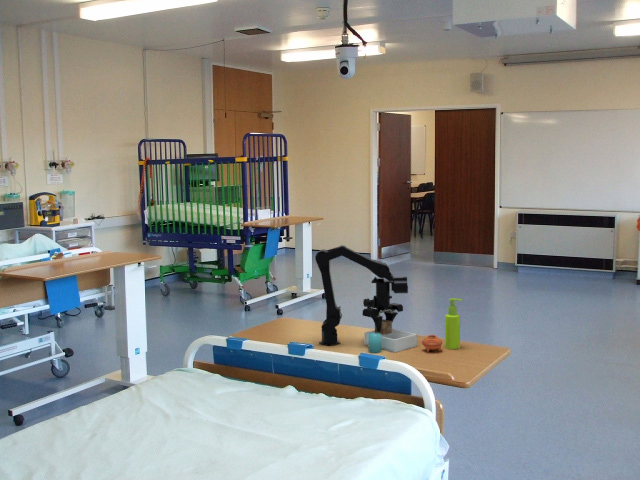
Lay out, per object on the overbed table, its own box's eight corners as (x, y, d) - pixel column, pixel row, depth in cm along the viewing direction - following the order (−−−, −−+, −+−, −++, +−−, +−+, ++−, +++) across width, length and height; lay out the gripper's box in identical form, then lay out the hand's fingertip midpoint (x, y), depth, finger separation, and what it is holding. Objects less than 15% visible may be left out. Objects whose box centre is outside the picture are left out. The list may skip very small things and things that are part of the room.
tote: (364, 344, 268) (364, 332, 268) (386, 338, 277) (386, 327, 276) (394, 352, 255) (394, 340, 255) (417, 346, 264) (416, 334, 263)
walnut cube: (383, 335, 265) (383, 323, 265) (374, 332, 269) (374, 321, 268) (391, 332, 268) (391, 321, 268) (383, 330, 272) (383, 319, 272)
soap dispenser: (462, 349, 257) (462, 300, 255) (445, 348, 259) (445, 299, 257) (462, 345, 263) (462, 297, 261) (445, 345, 264) (445, 297, 262)
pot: (443, 347, 260) (443, 332, 258) (440, 357, 253) (440, 341, 251) (424, 345, 262) (423, 330, 260) (420, 355, 256) (420, 339, 253)
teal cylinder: (366, 351, 258) (365, 334, 257) (375, 349, 261) (374, 332, 260) (374, 353, 254) (374, 336, 253) (383, 351, 257) (383, 334, 256)
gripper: (384, 288, 279) (385, 323, 281) (353, 293, 267) (353, 330, 269) (403, 291, 271) (404, 328, 272) (371, 297, 259) (372, 335, 260)
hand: (383, 330), depth 268 cm, fingers closed on walnut cube, 5 cm apart
